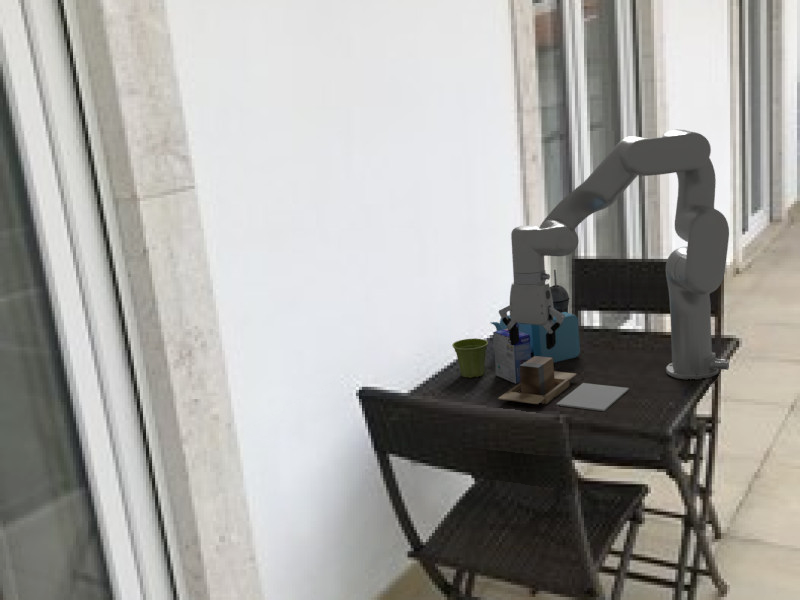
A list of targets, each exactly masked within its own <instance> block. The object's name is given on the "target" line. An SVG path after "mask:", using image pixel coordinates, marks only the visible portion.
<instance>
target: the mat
mask: <svg viewBox="0 0 800 600" xmlns="http://www.w3.org/2000/svg"><path fill="white" fill-rule="evenodd" d="M629 390H630V388H629V387H625V386H623V387H621V386H614V385H605V384H596V383H595V384H594V383H587V382H582V383H581V384H580V385H578V386H577V387H576V388H575V389H574V390H572V391H571V392H569V393H568V394H567V395H566V396H564V397H563V398H562V399H561V400H559V401H558V402H556V406H559V405H560V406H561V407H569V408H575V409H576V408H577V409H583V410H584V409H585V410H590V411H591V410H592V411H601V412H605V411H606V410H607V409H609V408H610V407H611V406H612V405H613V404H614V403H615V402H617V401H618V400H619V399H621V397H622V396H624V394H626V393H627V392H628V391H629Z"/></svg>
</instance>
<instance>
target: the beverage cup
mask: <svg viewBox="0 0 800 600" xmlns="http://www.w3.org/2000/svg"><path fill="white" fill-rule="evenodd" d="M553 276H554V277H553V278H554V285H551V286H550V289H551V294H552V299H553V307H554V309H555V310H557V311H559V312H560V313H562V312H567V313H569V305H570V296H569V293H568V291H567V289H566V288H565V287H563V286H562V285H558V284H557V282H558V281H557V271H556V269H554V270H553Z"/></svg>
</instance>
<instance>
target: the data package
mask: <svg viewBox="0 0 800 600" xmlns="http://www.w3.org/2000/svg"><path fill="white" fill-rule="evenodd" d="M562 314H564V315H565V318H564V320H563V322H562V325H561V326H560V327H559V328H558V329H557V330H556V331H555V336H556V344H555V346H554V347H553V348H551V349H547V348H546V334H547V333H548V332H547V330H546V329H545V328H544V326H543V325H531V326H532V339H533V357H534V356H540V357H550V358H553V364H554V363H559V362H562V361H566V360H570V359H574V358H577V357H578V356H579V355H580V354H581V347H580V346H581V345H580V328H579V318H578V317H577V315H575V314H573V313H570V312H568V313H567V312H562ZM556 320H557V319H556V317H554V319H553V320H552V322H553V323H554V324H555V323H556Z"/></svg>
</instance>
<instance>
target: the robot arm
mask: <svg viewBox="0 0 800 600" xmlns="http://www.w3.org/2000/svg"><path fill="white" fill-rule="evenodd" d="M711 147H712V146H711V143H710V142H709V140H708V138H707V137H706V136H704V135H703V134H701V133H698V132H695V131H690V130H685V129H670V130H668V131H666V132H665V133H664V134H663V135H662V136H660V137H648V138H646V137H641V136H635V135H631V136H630V135H629V136H626V137H624V138H623V139H621V140H620V141H619V142H618V143H617V144H616V145H615V146H614V147H613V148H612V149H611V150H610V152H609V153H608V154H607V155H606V156H605V158H603V160H602V161H601V162H600V163H599V165H597V167H596V168H594V170H593V171H592V173H591V174H590V175H589V176H588V177H587V178H586V179H585V180H584V181H583V182H582V183H581V184H579V185H578V186H577V187H576V188H575V189H573V190H572V191H571V192H570V193H569V194H567V195H566V196H565V197H564V198H563V199H562V200H560V201H559V203H557V204H556V206H555V207H554V208H553V209H552V210H551V211H550V212H549V214H548V215H547V216H546V217H545V218H544V220H543V221H542V223H540V226H538V225H520V226H516V227H514V228H513V229H512V230H511V232H510V233H511V234H510V235H511V236H510V237H511V238H510V240H511V255H512V271H513V273H512V277H513V282H512V283H511V286H510V293H509V305H507V306H505V307H504V308H501V309H499V310H498V314H499V316H500V319H501V318H502V321H503V322H504V324H505V325H506V326H507V329H509V336H510V341H511V345H515V344H517V343H518V342H519V328H518V327H516V325H517V324H518V323H521V324H531V325H543V326H544V328H545V329H546V330H547V332H548V333H547V334H546V348H547V349H551V348H553V347H554V346H555V344H556V336H555V331H556V330H557V329H558V328H559V327H560V326H561V325H562V322H563V320H564V318H565V315H564V314H562V313H560V312H559V311H557V310H555V309H554V307H553V299H552V294H551V289H550V287H551V286H550V282H548V281H547V280H550V278H551V275H550V273H546V269H545V267H546V265H545V257H547V256H548V257H566V256H569V255H572V254H573V253H574V252H575V250H577V248H578V246H579V236H578V234H577V232H576V231H575V229H576V228H577V227H578V226H579V225H580V224H581V223H582V222H583V221H584V220H586V219H587V218H588V217H589V216H591V215H592V214H594V213H596V212H599V211H601V210H604V209H606V208H609V207H610V206H612V205H613V204H614V203H615V202H616V201H617V200H618V199H619V197H621V196H622V194H623V193H624V192H625V190H626V189H627V188H628V187H629V186H630V185H631V184H632V182H634V180H635V179H636V178H637V177H638V176H641V177H644V176H645V177H648V176H659V175H667V174H674V173H675V174H676V176H677V182H678V183H677V187H678V188H677V200H676V208H675V209H676V210H675V216H674V217H675V218H674V231H675V233H676V234H677V236H678V237H679V239H681V240H683V241H685V242H687V246H682V247H678V248H675V249H674V250H673V251H672V252H671V253H670V255H669V256H668V257H667V260H666V263H665V277H666V282H667V288H668V296H669V311H670V312H669V313H670V335H671V336H670V338H671V339H670V341H671V343H670V344H671V361H672V362H671V363H669V364H668V365H666V366H665V370H666V371H665V372H666V374H668V376H671V377H673V378H675V379H680V380H688V379H690V380H691V379H695V380H703V379H702V378H705V379H709V378H713V377H714V376H716V375H718V374H719V372H720V370H726V371H727V370H729V369H730V362H729V361H728V359H726V358H718V357H716V356H717V355H716V352H713V351H712V321H711V320H712V319H711V312H712V311H711V296H710V294H711V293H713V292H714V291H717V289H718V288H719V287H720V286H721V284H722V282H723V281H724V278H725V277H724V276H725V271H726V266H727V265H726V264H727V256H728V255H727V254H728V248H729V240H730V228H729V222H728V220H727V218H726V217H725V215H724V213H722V212H721V211H719V210H718V209H716V208H715V198H716V184H717V183H716V171H715V168H714V164H713V162H712V160H711V158H710V157H711V152H712V149H711ZM508 312H509V315H510V318H509V317H508ZM554 317H556V319H557V320H556V323H555V324H554V323H553V322H552V320H553V319H554Z"/></svg>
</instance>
